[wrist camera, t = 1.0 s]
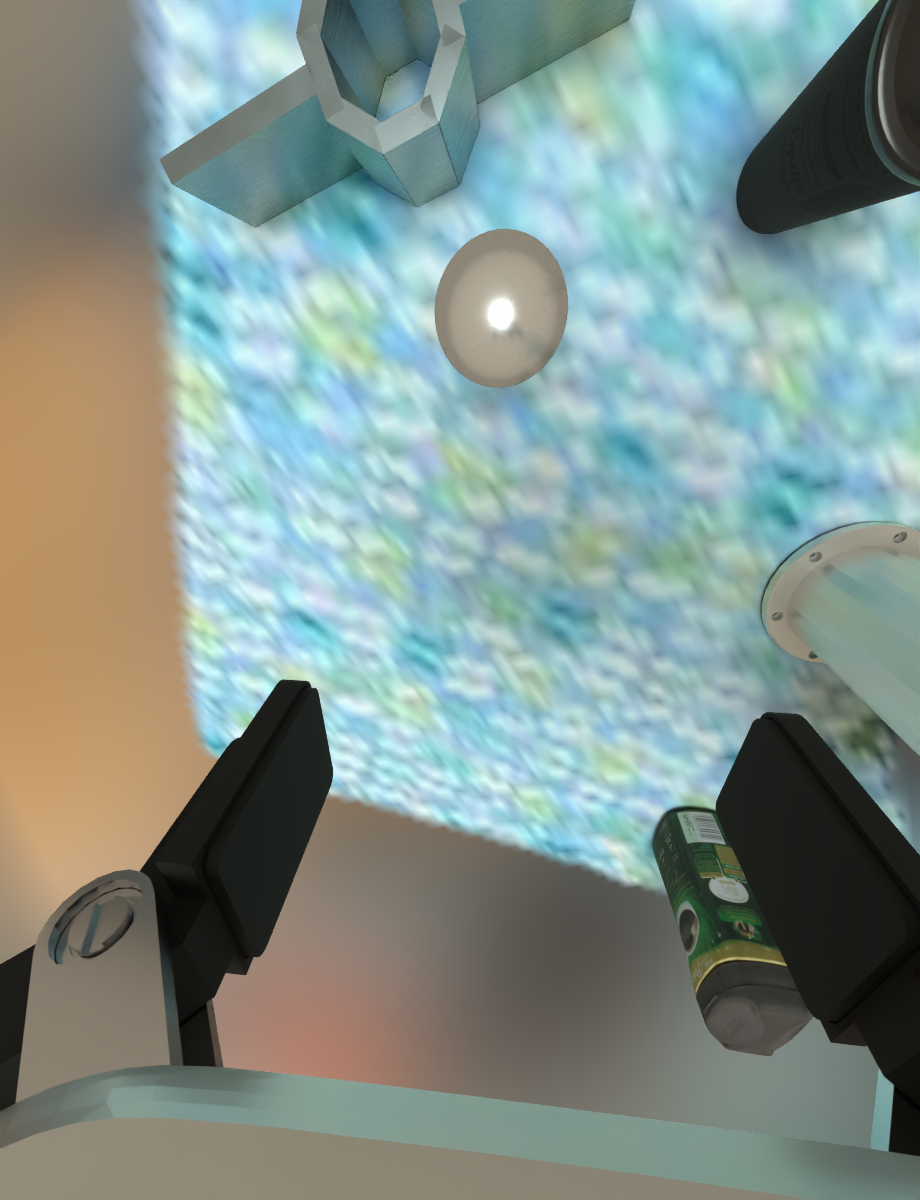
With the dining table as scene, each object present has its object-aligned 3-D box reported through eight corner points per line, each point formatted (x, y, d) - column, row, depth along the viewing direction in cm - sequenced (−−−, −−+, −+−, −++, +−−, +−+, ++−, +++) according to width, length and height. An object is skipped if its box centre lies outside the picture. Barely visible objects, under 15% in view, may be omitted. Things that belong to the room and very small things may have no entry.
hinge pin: (534, 275, 28) (549, 201, 15) (553, 361, 31) (580, 360, 18) (460, 308, 30) (415, 265, 17) (483, 388, 32) (460, 405, 19)
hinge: (615, -96, 21) (664, -320, 14) (638, 93, 24) (687, -17, 17) (222, 151, 27) (120, 78, 20) (277, 278, 30) (205, 253, 23)
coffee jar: (710, 859, 54) (793, 1071, 38) (645, 850, 55) (698, 1056, 39) (737, 809, 49) (844, 1027, 33) (665, 800, 50) (736, 1009, 34)
